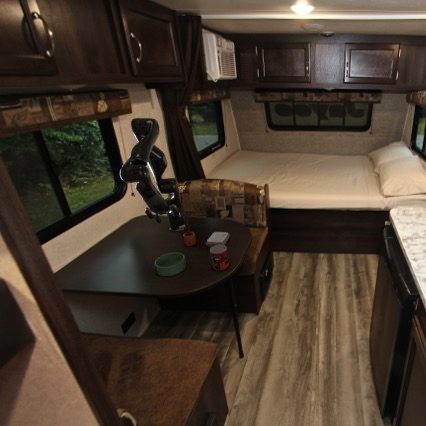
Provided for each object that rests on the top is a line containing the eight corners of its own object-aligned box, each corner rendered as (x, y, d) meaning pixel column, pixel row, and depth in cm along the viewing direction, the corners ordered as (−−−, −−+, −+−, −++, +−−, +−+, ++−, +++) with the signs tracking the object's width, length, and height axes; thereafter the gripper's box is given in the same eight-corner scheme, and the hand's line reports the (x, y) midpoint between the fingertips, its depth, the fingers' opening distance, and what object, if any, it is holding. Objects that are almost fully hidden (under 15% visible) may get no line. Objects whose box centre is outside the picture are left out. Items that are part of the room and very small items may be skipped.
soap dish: (223, 250, 164) (222, 242, 161) (206, 249, 164) (204, 241, 162) (230, 239, 175) (229, 231, 173) (214, 238, 175) (213, 231, 173)
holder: (184, 242, 170) (182, 233, 167) (195, 240, 173) (193, 230, 170) (186, 247, 165) (184, 237, 163) (197, 244, 168) (195, 235, 165)
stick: (188, 242, 169) (182, 214, 162) (192, 241, 170) (186, 214, 162) (189, 244, 168) (183, 216, 160) (192, 243, 169) (187, 215, 161)
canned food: (210, 266, 150) (207, 248, 145) (224, 260, 155) (221, 242, 150) (217, 273, 145) (214, 254, 140) (231, 266, 150) (229, 248, 145)
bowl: (156, 264, 150) (153, 256, 148) (184, 257, 156) (182, 249, 154) (157, 279, 140) (155, 270, 138) (188, 270, 146) (186, 262, 144)
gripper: (170, 191, 138) (184, 212, 151) (139, 195, 137) (155, 216, 149) (168, 203, 133) (182, 224, 146) (136, 208, 132) (153, 228, 145)
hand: (169, 220), depth 148 cm, fingers open, 8 cm apart
